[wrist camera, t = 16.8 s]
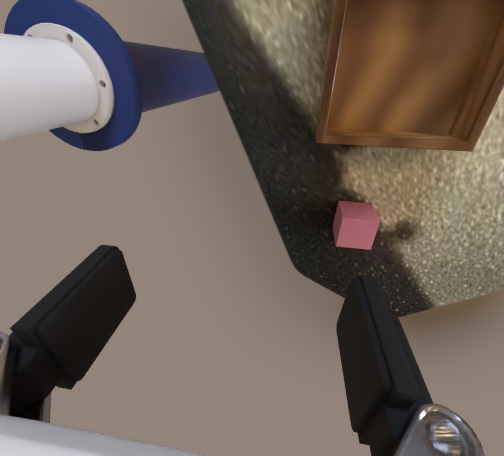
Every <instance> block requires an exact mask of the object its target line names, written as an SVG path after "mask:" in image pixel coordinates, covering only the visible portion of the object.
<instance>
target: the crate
mask: <svg viewBox="0 0 504 456" xmlns="http://www.w3.org/2000/svg"><path fill="white" fill-rule="evenodd" d="M503 88H504V0H333V7H332V14H331V21H330V28H329V35H328V42H327V49H326V56H325V64H324V71H323V78H322V85H321V92H320V99H319V106H318V113H317V120H316V128H315V137H316V143H326V144H345V145H363V146H381V147H399V148H418V149H436V150H454V151H473V149H474V147H475V145H476V143H477V141H478V139H479V137H480V135H481V133H482V131H483V129H484V127H485V125H486V123H487V121H488V118H489V116H490V114H491V112H492V110H493V108H494V106H495V104H496V102H497V100H498V98H499V96H500V94H501V92H502V90H503Z"/></svg>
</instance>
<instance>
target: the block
mask: <svg viewBox="0 0 504 456" xmlns="http://www.w3.org/2000/svg"><path fill="white" fill-rule="evenodd" d="M379 223H380V220H379V218H378V216H377V214H376V212H375V210H374V208H373V206H372V204H371V203H360V202H349V201H338V205H337V209H336V214H335V218H334V223H333V232H334V237H335V243H336V246H340V247H349V248H358V249H367V250H371V247H372V244H373V241H374V238H375V235H376V232H377V229H378V226H379Z"/></svg>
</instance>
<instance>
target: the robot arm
mask: <svg viewBox="0 0 504 456" xmlns="http://www.w3.org/2000/svg"><path fill="white" fill-rule="evenodd" d="M113 109H114V91H113V86H112V81H111V79H110V76H109V73H108V71H107V69H106V67H105V65H104V63H103V61H102V59H101V58H100V56H99V55H98V54H97V52H96V51H95V50H94V48H93V47H92V46H91V45H90V44H89V43H88V42H87V41H86V40H85V39H84V38H83V37H81V36H80V35H79V34H78V33H76V32H74V31H73V30H71V29H69V28H67V27H64V26H61V25H57V24H52V23H39V24H36V25H33V26H32V27H31V28H29V29H28V30H27V31H26V32H25V34H24V35H23V36H20V35H11V34H1V33H0V142H2V141H6V140H10V139H14V138H18V137H22V136H27V135H30V134H35V133H39V132H43V131H47V130H51V129H55V128H59V127H64V128H66V129H68V130H71V131H74V132H78V133H90V132H94V131H97V130H99V129H101V128H103V127H104V126H105V125H106V124H107V123H108V121H109V120H110V118H111V116H112V113H113ZM135 299H136V293H135V290H134V287H133V284H132V281H131V278H130V275H129V272H128V269H127V266H126V263H125V260H124V257H123V253H122V251H120V250H119V248H117V247H115V246H108V245H101V246H99V247H98V248H97V249H96V250H95V251H94V252H92V253H91V254H90V255H89V256H88V257H87V258H86V259H85V260H84V261H83V262H82V263H81V264H79V265H78V266H77V267H76V268H75V269H74V270H73V271H72V272H71V273H70V274H68V275H67V276H66V277H65V278H64V279H63V280H62V281H61V282H60V283H59V284H58V285H57V286H55V287H54V288H53V289H52V290H51V291H50V292H49V293H48V294H47V295H46V296H45V297H43V298H42V299H41V300H40V301H39V302H38V303H37V304H36V305H35V306H34V307H33V308H32V309H30V310H29V311H28V312H27V313H26V314H25V315H24V316H23V317H22V318H21V319H20V320H19V321H17V322H16V323H15V324H14V325H13V326H12V327H11V328H10V329H11V330H12V331H13V332H12V333H11V334H10V335H9V336H8V335H7V334H6V333H3V332H0V456H209V455H204V454H200V453H194V452H190V451H185V450H180V449H175V448H170V447H166V446H161V445H155V444H151V443H146V442H141V441H136V440H131V439H126V438H121V437H116V436H111V435H107V434H102V433H97V432H92V431H86V430H81V429H76V428H71V427H66V426H61V425H56V424H51V423H50V407H51V392H52V390H53V389H54V387H55V386H57V387H60V388H66V389H72V388H73V387H74V385H75V384H76V382H77V381H79V380H81V379H82V378H83V377H84V376H85V374H86V372H87V371H88V369H89V368H90V367H91V365H92V364H93V362H94V361H95V359H96V358H97V357H98V355H99V353H100V352H101V351H102V349H103V348H104V346H105V345H106V343H107V342H108V340H109V339H110V337H111V336H112V334H113V333H114V332H115V330H116V329H117V327H118V326H119V324H120V323H121V321H122V320H123V318H124V317H125V315H126V314H127V312H128V311H129V310H130V308H131V307H132V305H133V303H134V302H135ZM337 336H338V343H339V350H340V356H341V362H342V369H343V376H344V382H345V388H346V395H347V401H348V408H349V415H350V421H351V426H352V430H353V431H354V432H357V433H358V437H359V443H360V444H366V445H370V451H371V456H484V452H483V449H482V445H481V443H480V441H479V439H478V438H477V436H476V434H475V433H474V432H473V430H472V429H471V427H469V425H468V424H467V423H466V422H465V421H464V420H463V419H462V418H461V417H460V416H459V415H458V414H456V413H455V412H453V411H452V410H450V409H448V408H447V407H444V406H442V405H439V404H433V401H432V399H431V397H430V394H429V392H428V389H427V387H426V385H425V382H424V379H423V377H422V374H421V372H420V370H419V367H418V365H417V362H416V360H415V357H414V355H413V353H412V350H411V348H410V345H409V343H408V340H407V338H406V335H405V333H404V330H403V328H402V326H401V323H400V321H399V319H398V318H397V317H396V316H394V315H390V313H389V311H388V308H387V305H386V303H385V300H384V298H383V295H382V292H381V290H380V287H379V284H378V282H377V279H376V278H375V277H372V276H363V275H358V276H357V278H353V279H352V280H351V283H350V286H349V289H348V292H347V295H346V298H345V301H344V304H343V307H342V310H341V312H340V315H339V318H338V321H337Z"/></svg>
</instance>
